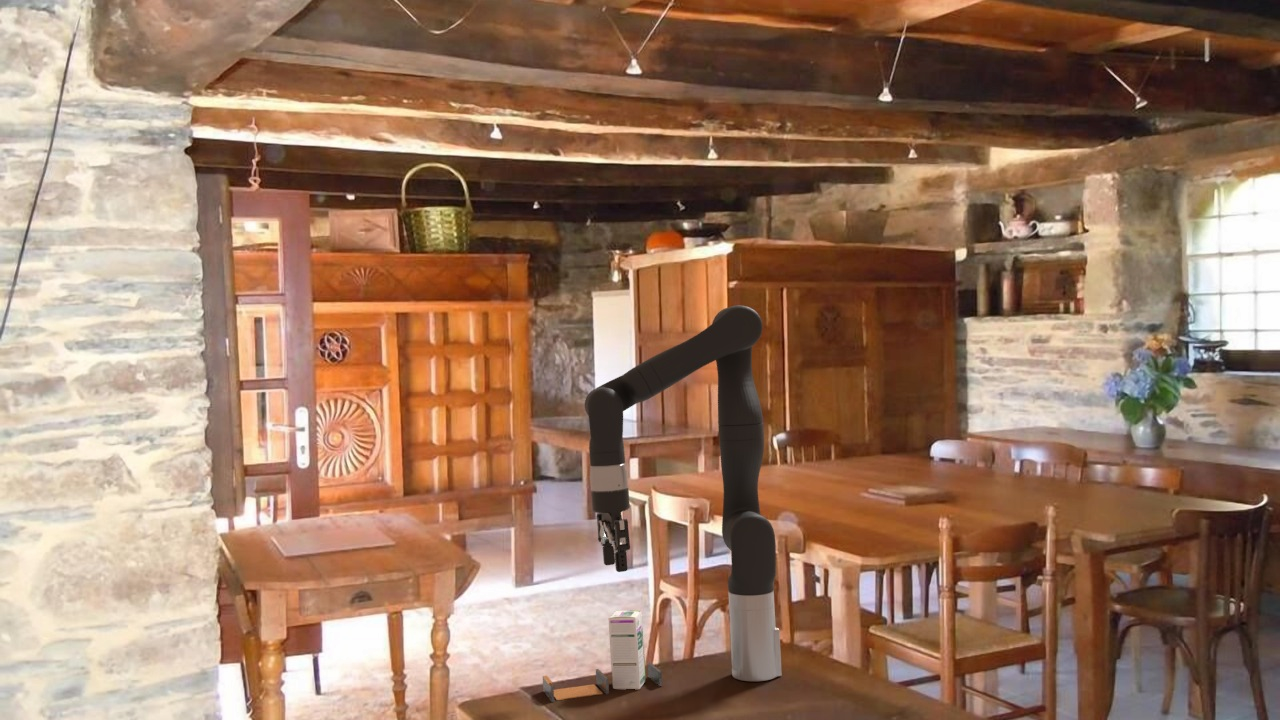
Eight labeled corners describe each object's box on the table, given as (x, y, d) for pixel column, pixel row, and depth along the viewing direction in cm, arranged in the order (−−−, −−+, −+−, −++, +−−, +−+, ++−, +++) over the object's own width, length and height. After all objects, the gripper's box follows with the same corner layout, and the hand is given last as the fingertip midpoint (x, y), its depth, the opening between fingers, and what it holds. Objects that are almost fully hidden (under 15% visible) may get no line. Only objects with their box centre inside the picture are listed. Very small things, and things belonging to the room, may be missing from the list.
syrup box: (640, 689, 213) (637, 616, 213) (611, 689, 214) (608, 616, 214) (646, 681, 218) (642, 609, 218) (617, 681, 219) (614, 609, 220)
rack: (650, 676, 221) (649, 660, 221) (662, 686, 214) (661, 669, 214) (542, 691, 215) (541, 674, 215) (551, 702, 207) (550, 684, 207)
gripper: (638, 488, 209) (644, 571, 209) (617, 482, 223) (623, 560, 223) (601, 492, 207) (607, 576, 207) (582, 486, 221) (588, 564, 221)
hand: (615, 567), depth 215 cm, fingers open, 8 cm apart
